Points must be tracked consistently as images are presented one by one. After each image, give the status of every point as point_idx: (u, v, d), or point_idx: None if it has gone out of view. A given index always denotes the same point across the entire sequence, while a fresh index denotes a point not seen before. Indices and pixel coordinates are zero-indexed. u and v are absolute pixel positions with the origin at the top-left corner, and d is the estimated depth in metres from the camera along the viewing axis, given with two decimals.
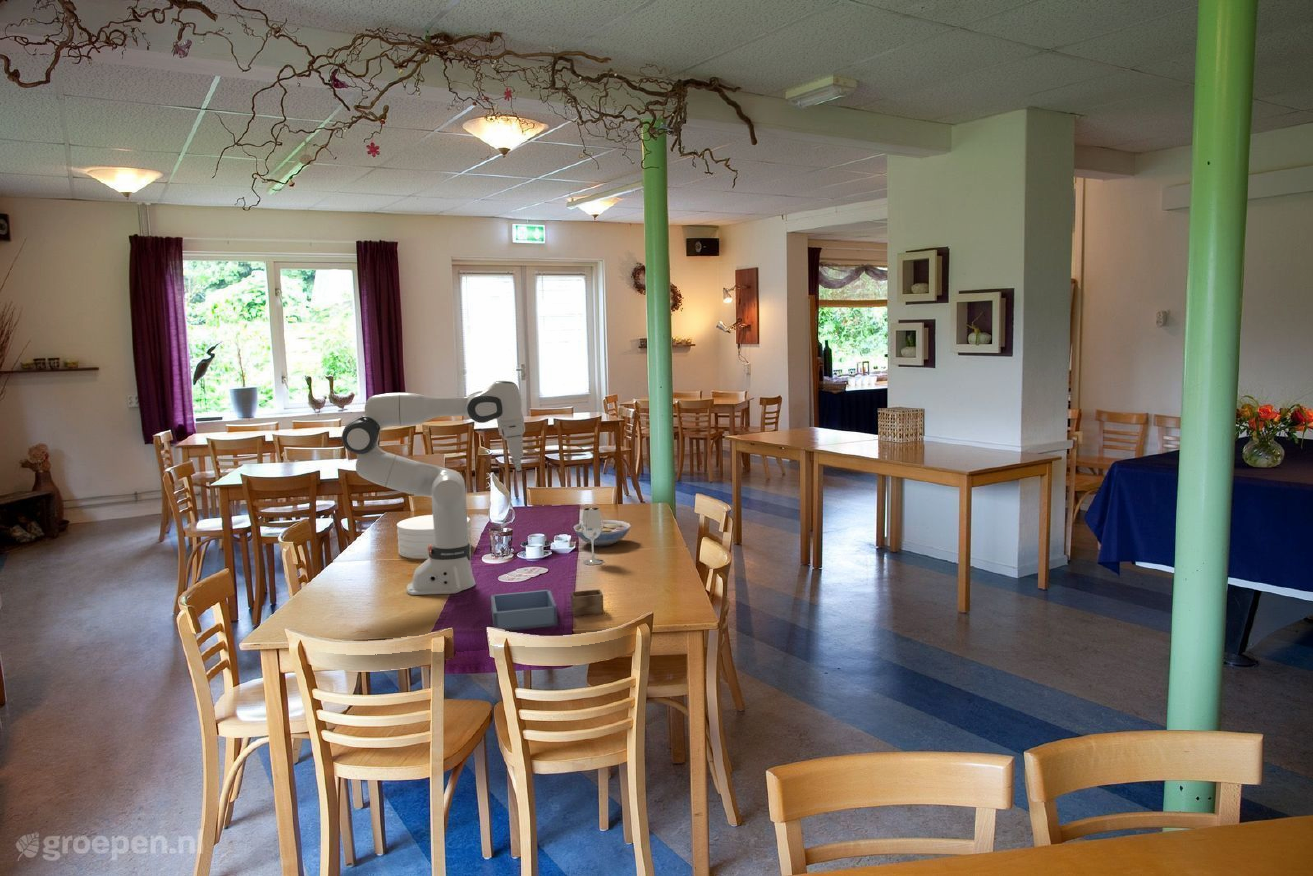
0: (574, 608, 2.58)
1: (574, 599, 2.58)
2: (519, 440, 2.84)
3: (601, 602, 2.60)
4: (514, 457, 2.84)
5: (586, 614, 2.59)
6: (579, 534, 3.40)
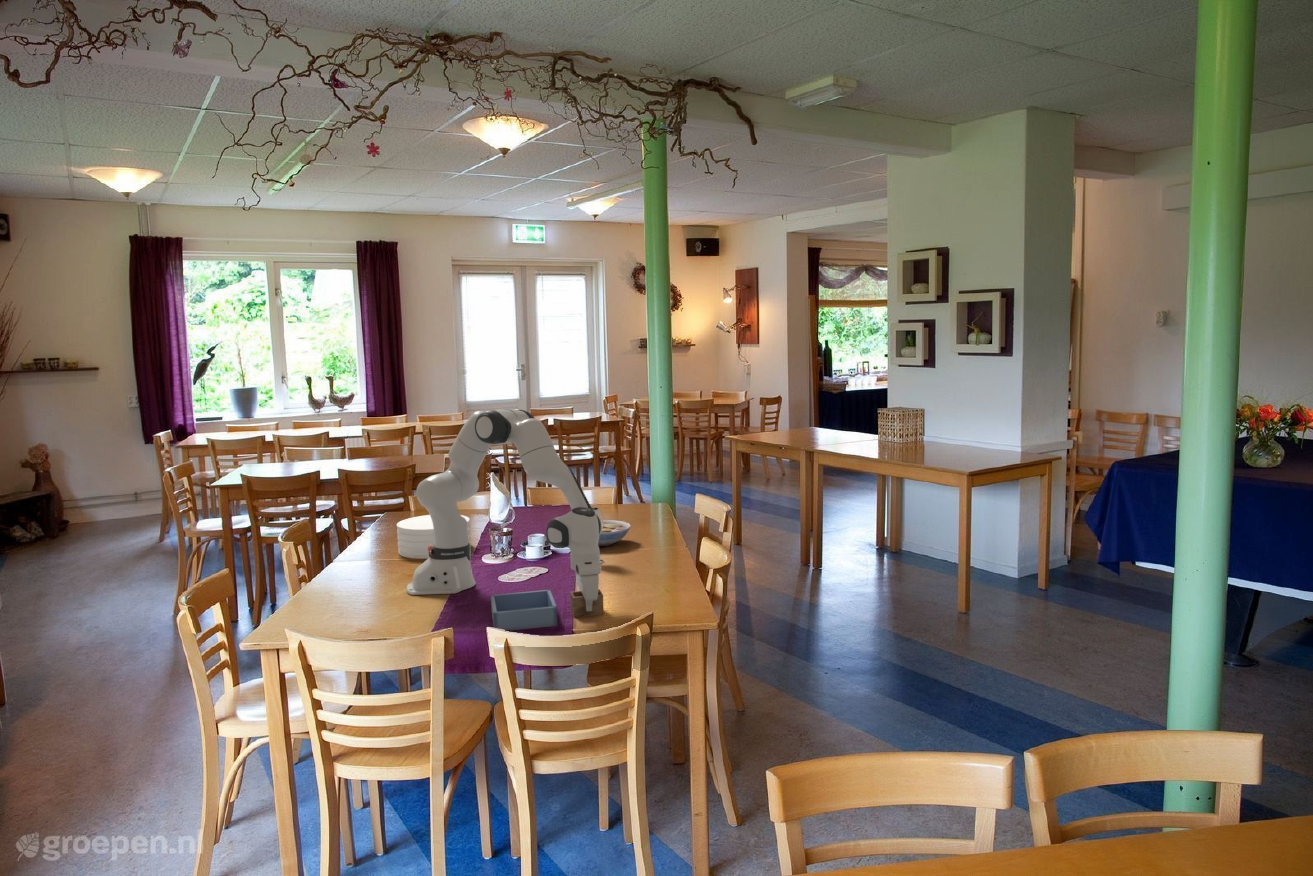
0: (574, 608, 2.58)
1: (574, 599, 2.58)
2: (594, 581, 2.52)
3: (601, 602, 2.60)
4: (588, 599, 2.52)
5: (586, 614, 2.59)
6: None
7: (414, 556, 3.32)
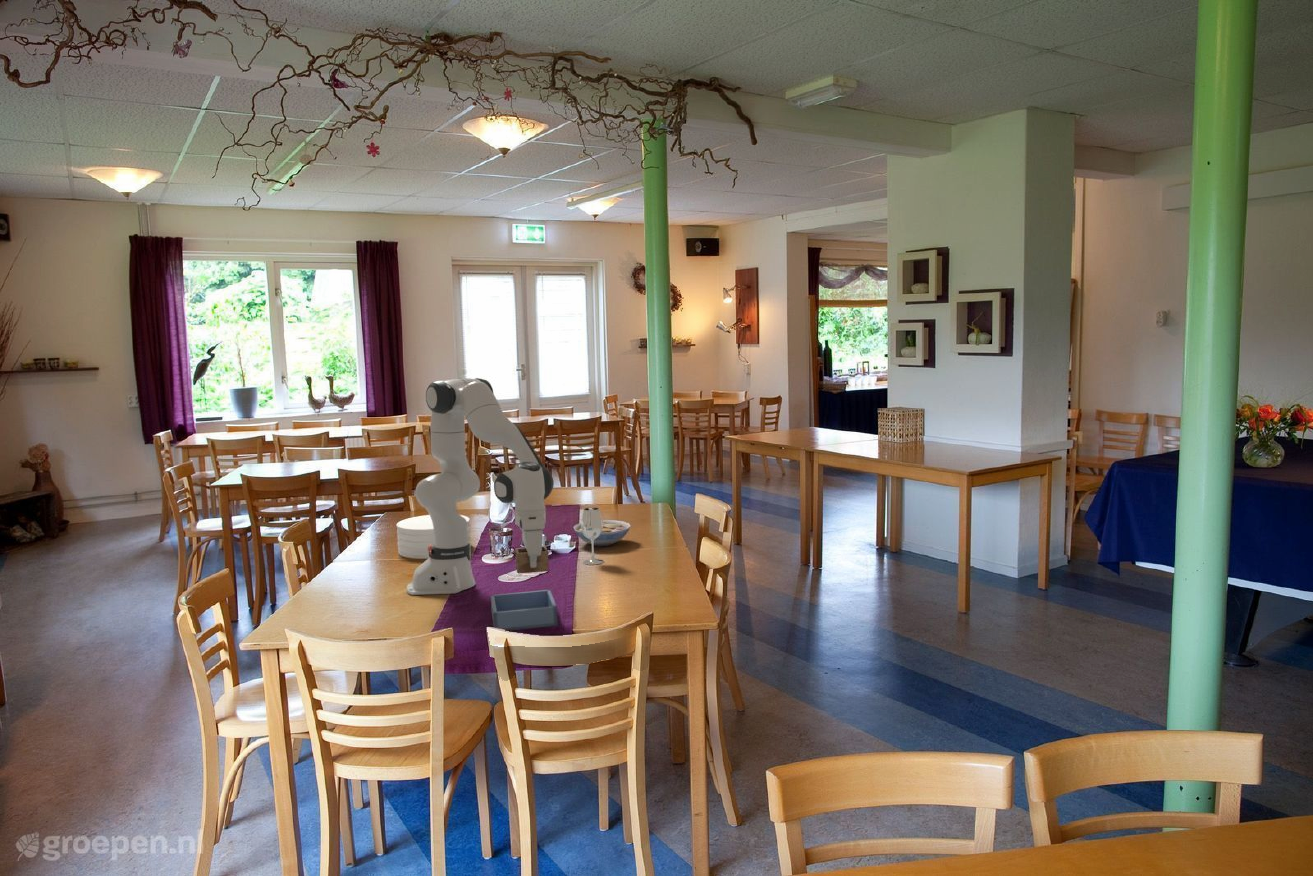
0: (518, 564, 2.53)
1: (518, 555, 2.53)
2: (538, 536, 2.47)
3: (546, 559, 2.55)
4: (531, 554, 2.47)
5: (530, 571, 2.54)
6: (579, 534, 3.40)
7: (414, 556, 3.32)
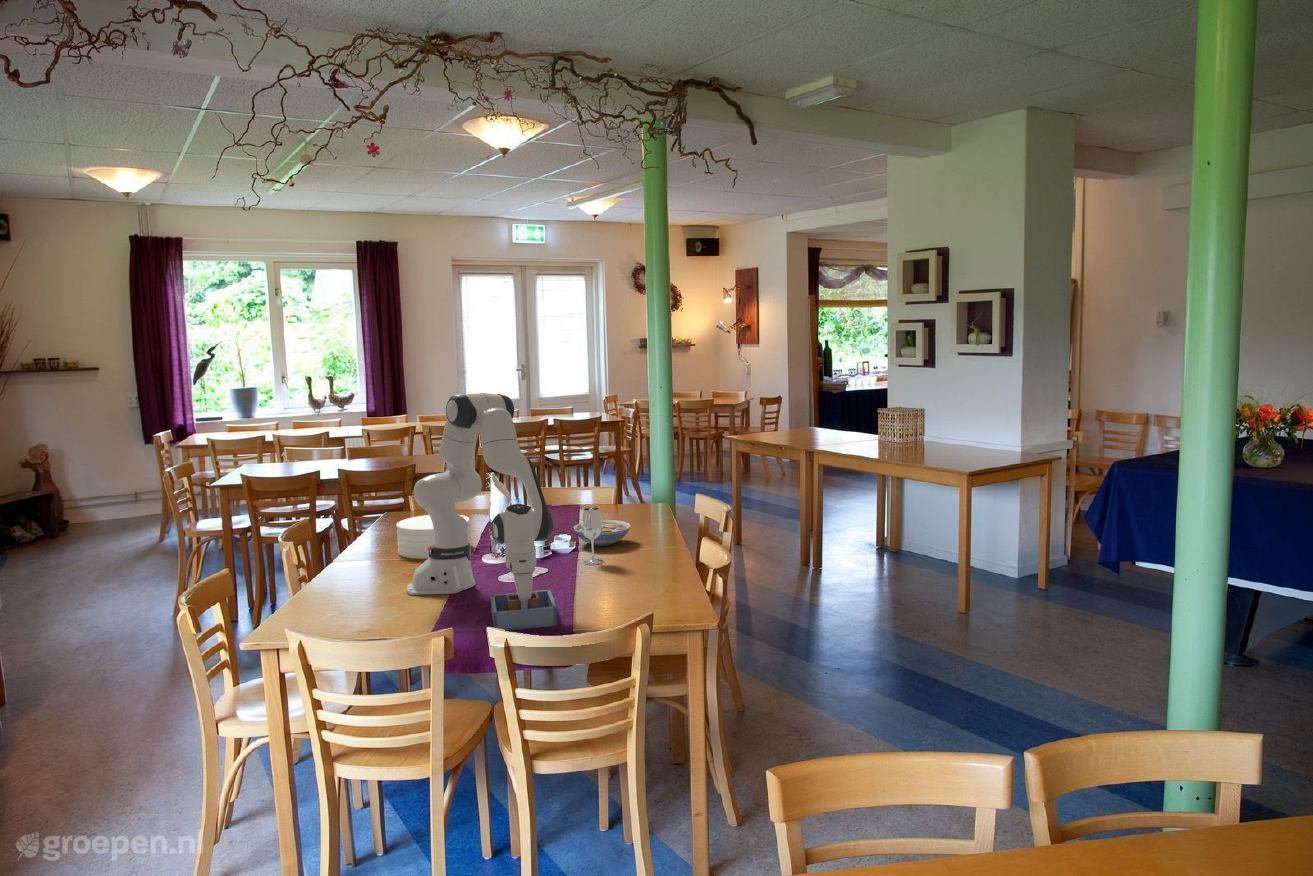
0: None
1: (509, 602, 2.53)
2: (528, 579, 2.47)
3: (537, 605, 2.55)
4: (521, 598, 2.47)
5: None
6: (579, 534, 3.40)
7: (414, 556, 3.33)
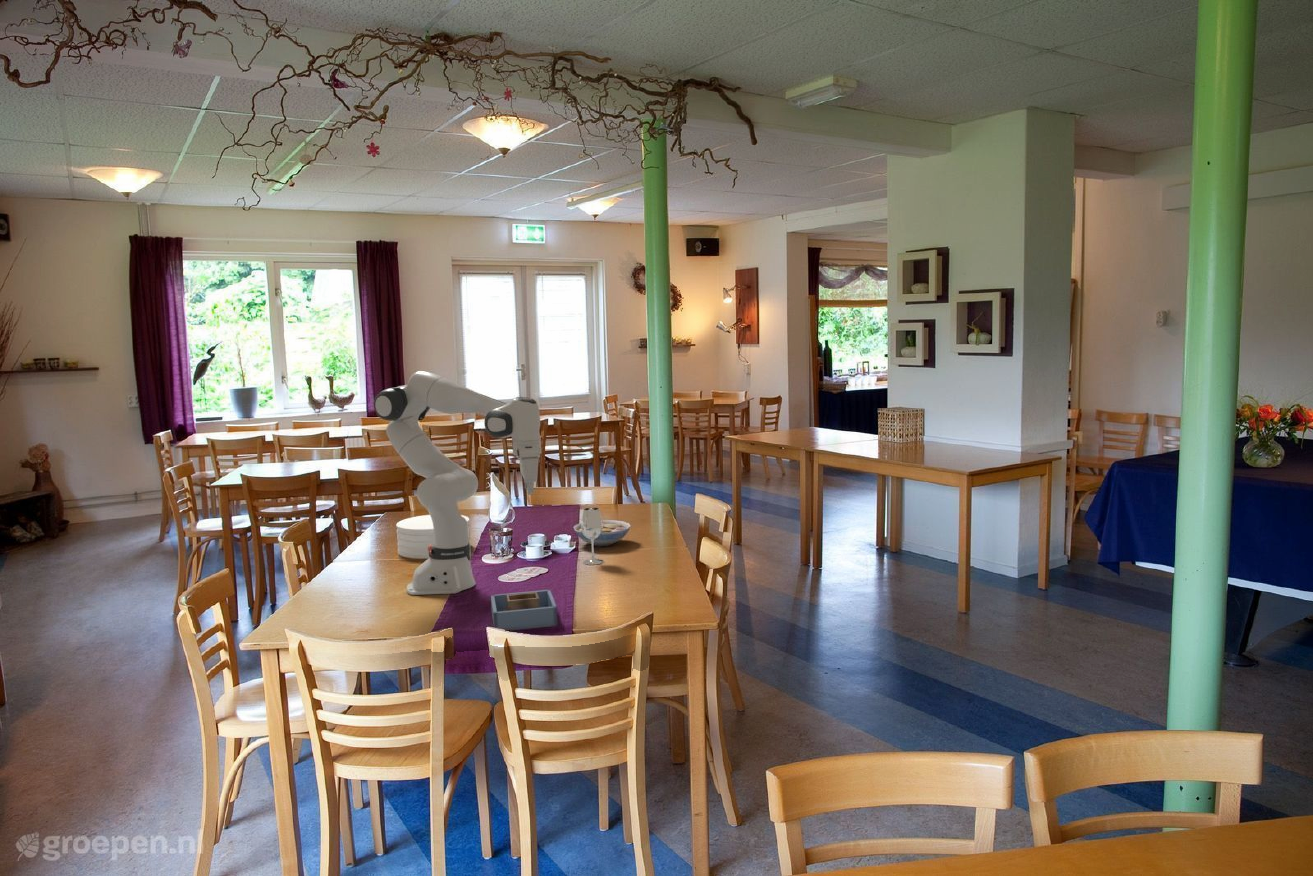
0: None
1: (509, 602, 2.53)
2: (534, 463, 2.66)
3: (537, 605, 2.55)
4: (527, 480, 2.66)
5: None
6: (579, 534, 3.40)
7: (414, 556, 3.33)
